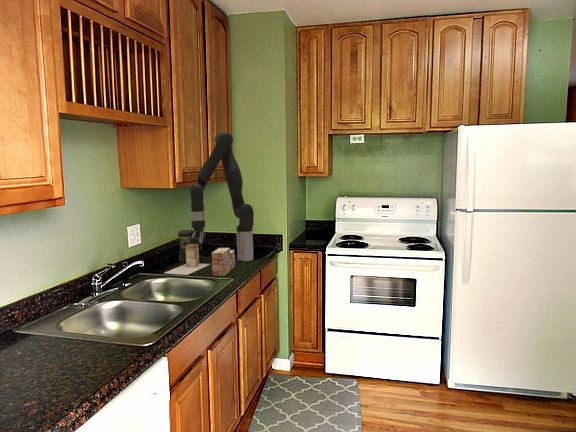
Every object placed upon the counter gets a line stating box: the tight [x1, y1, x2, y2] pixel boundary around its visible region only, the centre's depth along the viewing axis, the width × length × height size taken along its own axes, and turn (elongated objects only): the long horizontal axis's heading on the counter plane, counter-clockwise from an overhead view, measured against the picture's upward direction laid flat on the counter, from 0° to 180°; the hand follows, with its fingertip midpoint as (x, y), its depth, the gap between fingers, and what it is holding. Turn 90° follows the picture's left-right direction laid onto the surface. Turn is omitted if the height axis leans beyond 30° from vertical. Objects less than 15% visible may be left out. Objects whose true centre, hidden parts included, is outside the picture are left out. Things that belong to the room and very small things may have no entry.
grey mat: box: [164, 262, 211, 276], centre depth 234 cm, size 24×14×1 cm, turn 160°
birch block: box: [185, 243, 200, 268], centre depth 238 cm, size 5×5×12 cm
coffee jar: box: [177, 229, 196, 262], centre depth 254 cm, size 10×8×19 cm
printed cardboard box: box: [211, 247, 236, 277], centre depth 229 cm, size 21×6×12 cm, turn 171°
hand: (199, 249), depth 245 cm, fingers closed
